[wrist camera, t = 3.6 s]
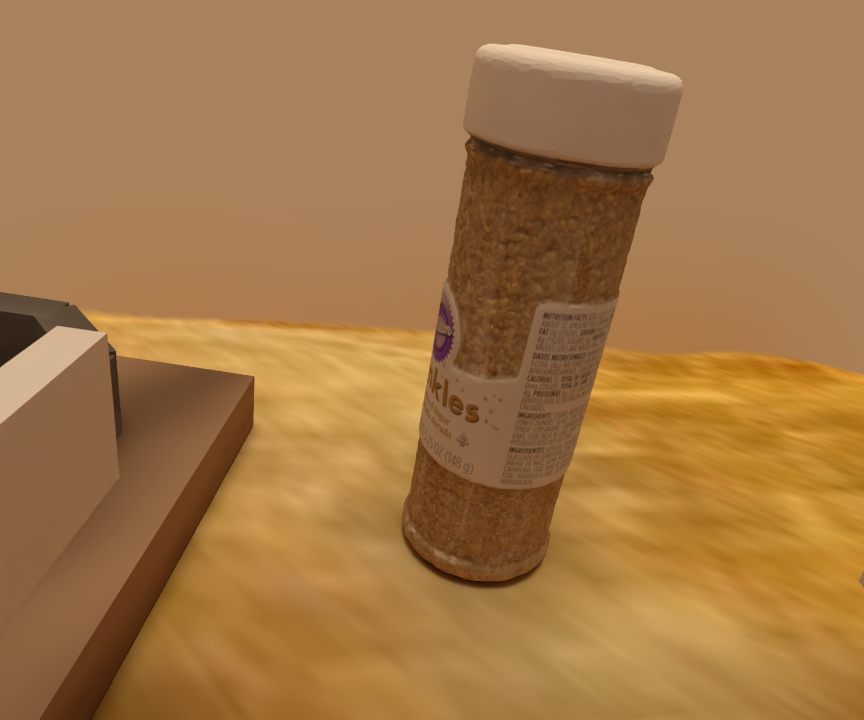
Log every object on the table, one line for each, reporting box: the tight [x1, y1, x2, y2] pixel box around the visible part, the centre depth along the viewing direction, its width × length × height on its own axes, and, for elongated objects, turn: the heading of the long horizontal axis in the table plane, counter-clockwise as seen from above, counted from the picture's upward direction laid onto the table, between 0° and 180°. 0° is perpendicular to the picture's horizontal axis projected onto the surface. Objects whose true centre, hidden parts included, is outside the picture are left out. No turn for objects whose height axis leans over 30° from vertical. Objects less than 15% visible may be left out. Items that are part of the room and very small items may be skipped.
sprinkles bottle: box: [402, 44, 683, 581], centre depth 17 cm, size 5×5×14 cm
